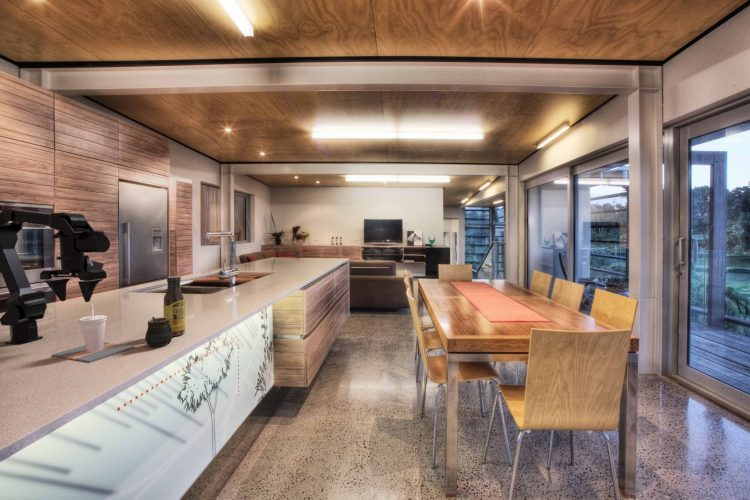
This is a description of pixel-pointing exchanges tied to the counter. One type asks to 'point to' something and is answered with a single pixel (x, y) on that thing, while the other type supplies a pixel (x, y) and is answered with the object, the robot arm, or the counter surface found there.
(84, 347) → the slate board
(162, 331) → the mate gourd
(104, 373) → the counter surface
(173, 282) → the sauce bottle
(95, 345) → the smoothie
